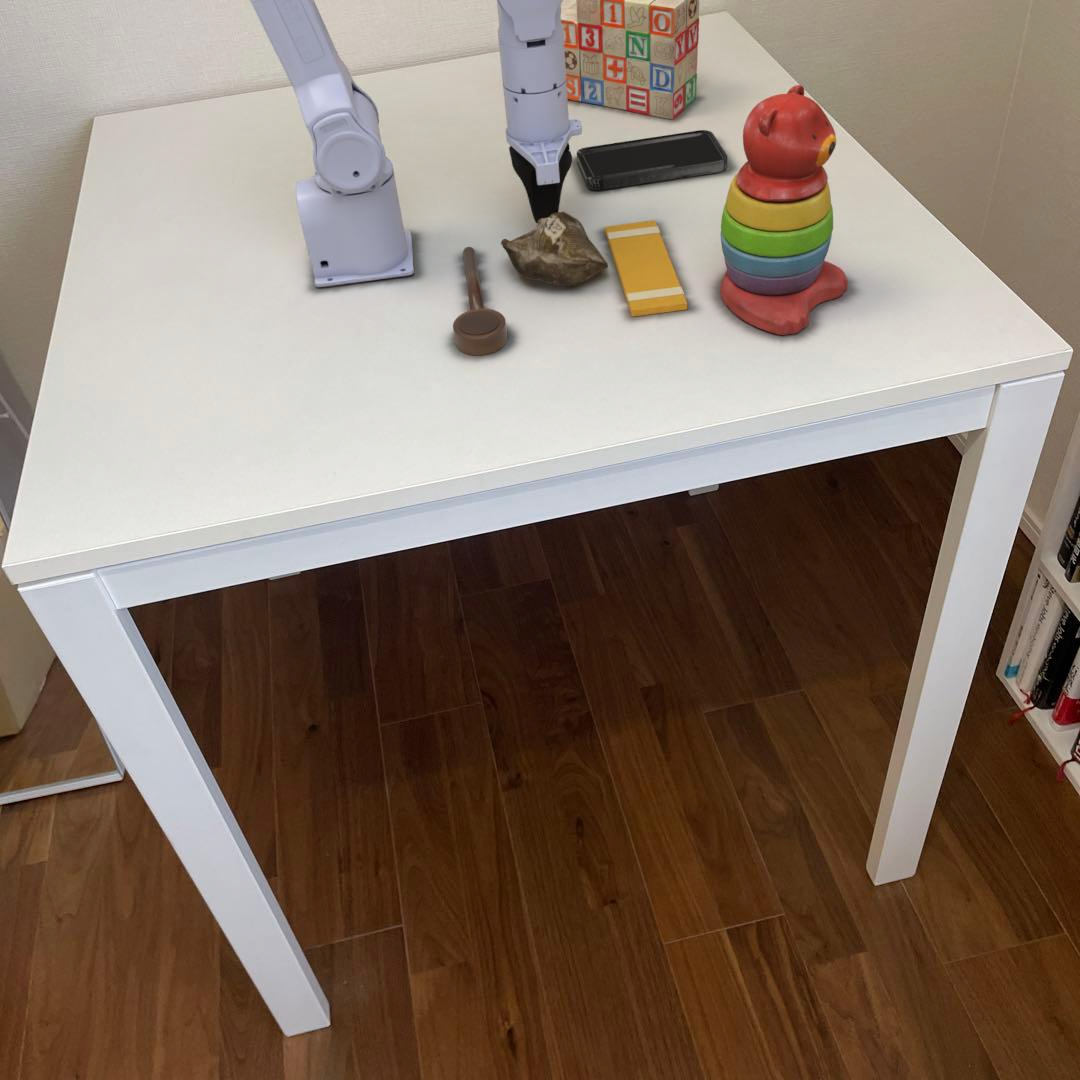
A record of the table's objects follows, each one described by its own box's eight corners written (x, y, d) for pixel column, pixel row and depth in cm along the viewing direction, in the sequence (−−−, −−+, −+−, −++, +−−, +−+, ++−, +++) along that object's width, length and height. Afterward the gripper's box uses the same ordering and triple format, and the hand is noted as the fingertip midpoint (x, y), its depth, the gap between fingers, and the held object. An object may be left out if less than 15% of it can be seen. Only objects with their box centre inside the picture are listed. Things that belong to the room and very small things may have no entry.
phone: (574, 149, 119) (709, 128, 120) (575, 159, 119) (709, 138, 120) (588, 182, 113) (730, 160, 114) (589, 192, 114) (730, 170, 115)
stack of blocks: (515, 91, 133) (505, -17, 125) (542, 71, 137) (534, -35, 128) (673, 120, 125) (674, 6, 116) (698, 98, 128) (701, -14, 119)
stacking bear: (791, 342, 93) (811, 140, 80) (692, 305, 98) (697, 109, 86) (856, 284, 98) (884, 86, 86) (759, 251, 104) (772, 60, 91)
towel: (631, 317, 98) (631, 309, 97) (604, 232, 108) (604, 225, 108) (687, 309, 98) (687, 301, 97) (655, 226, 108) (655, 218, 108)
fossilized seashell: (479, 257, 102) (559, 307, 98) (506, 188, 99) (590, 237, 95) (525, 261, 108) (602, 309, 104) (551, 197, 105) (632, 243, 101)
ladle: (446, 258, 107) (443, 241, 106) (492, 252, 107) (490, 235, 106) (457, 358, 95) (454, 340, 94) (509, 351, 95) (507, 333, 94)
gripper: (590, 109, 93) (596, 251, 103) (568, 44, 104) (575, 179, 113) (508, 119, 93) (522, 260, 103) (494, 54, 104) (508, 188, 113)
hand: (545, 219), depth 108 cm, fingers closed
